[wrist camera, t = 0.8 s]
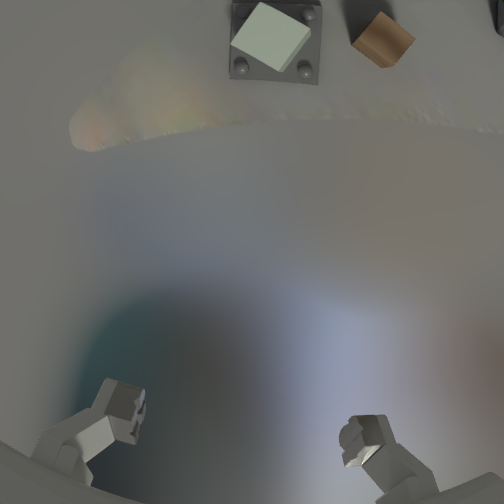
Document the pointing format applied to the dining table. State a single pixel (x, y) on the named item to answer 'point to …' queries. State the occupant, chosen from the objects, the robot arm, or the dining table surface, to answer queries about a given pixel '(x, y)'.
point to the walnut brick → (383, 41)
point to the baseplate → (301, 60)
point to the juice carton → (500, 17)
